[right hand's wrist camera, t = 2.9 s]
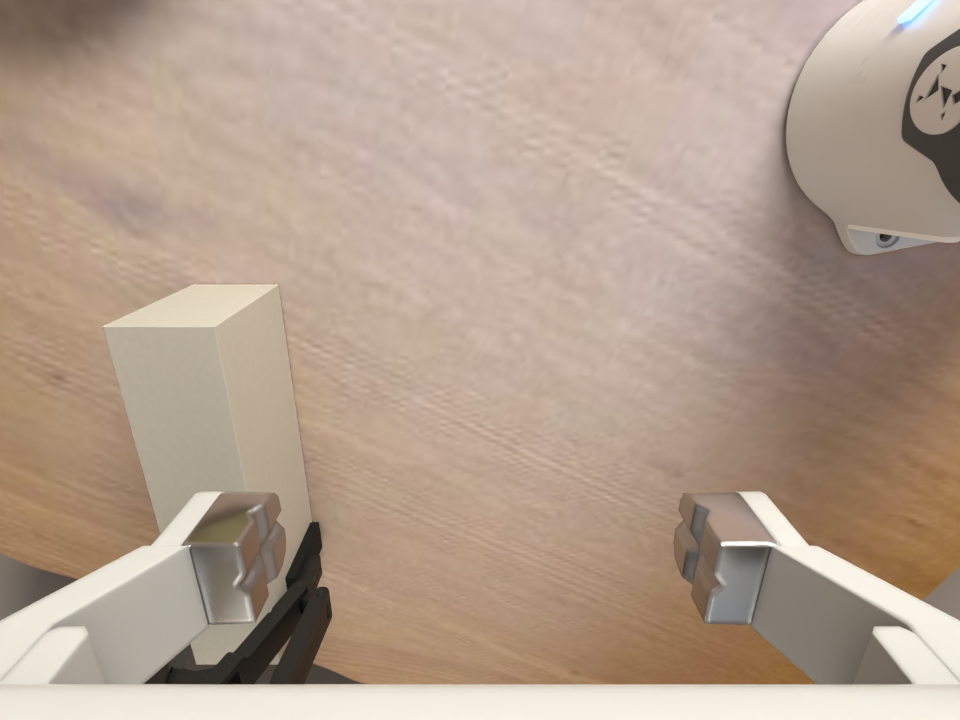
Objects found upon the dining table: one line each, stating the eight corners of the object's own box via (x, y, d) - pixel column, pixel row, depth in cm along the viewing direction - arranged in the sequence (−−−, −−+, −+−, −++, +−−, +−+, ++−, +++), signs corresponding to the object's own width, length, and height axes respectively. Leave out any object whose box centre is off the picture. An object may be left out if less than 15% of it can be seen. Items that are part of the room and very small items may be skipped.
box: (193, 284, 39) (101, 326, 29) (278, 284, 39) (214, 326, 29) (250, 565, 49) (195, 664, 39) (318, 565, 49) (280, 664, 39)
